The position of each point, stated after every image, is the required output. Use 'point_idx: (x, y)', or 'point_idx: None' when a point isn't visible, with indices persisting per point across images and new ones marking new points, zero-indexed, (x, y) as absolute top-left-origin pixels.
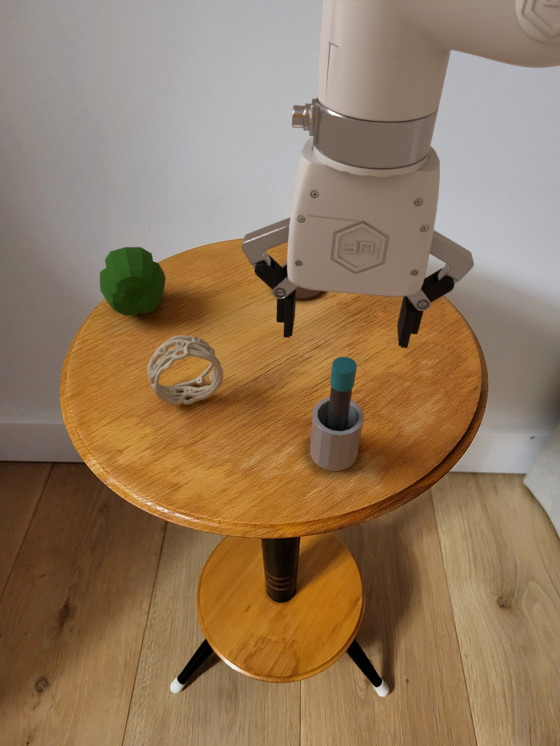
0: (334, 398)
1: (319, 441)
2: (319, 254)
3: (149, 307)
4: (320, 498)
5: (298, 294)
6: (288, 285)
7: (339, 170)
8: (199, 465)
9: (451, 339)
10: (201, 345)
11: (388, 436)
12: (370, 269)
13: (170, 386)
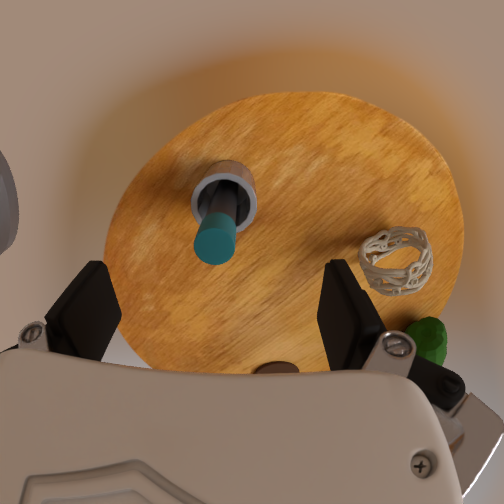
0: (228, 208)
1: (244, 174)
2: None
3: (413, 327)
4: (238, 124)
5: (278, 367)
6: (387, 369)
7: None
8: (367, 156)
9: (134, 332)
10: (391, 285)
11: (171, 214)
12: (73, 468)
13: (399, 247)
